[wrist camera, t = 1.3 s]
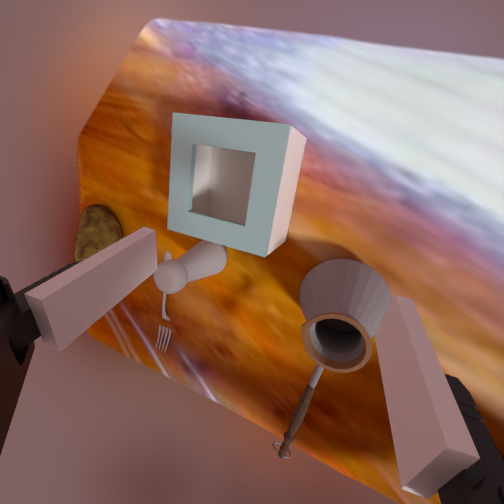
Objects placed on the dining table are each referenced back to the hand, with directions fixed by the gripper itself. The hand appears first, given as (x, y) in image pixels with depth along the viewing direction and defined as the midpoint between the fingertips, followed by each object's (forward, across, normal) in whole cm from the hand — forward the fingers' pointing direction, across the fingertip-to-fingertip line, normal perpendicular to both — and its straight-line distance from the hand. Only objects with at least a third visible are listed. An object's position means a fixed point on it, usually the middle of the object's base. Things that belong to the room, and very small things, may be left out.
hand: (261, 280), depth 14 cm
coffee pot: (+20, -8, +18) cm, 28 cm away
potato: (+26, +34, +18) cm, 47 cm away
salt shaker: (+23, +11, +14) cm, 29 cm away
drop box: (+25, +8, +2) cm, 26 cm away
